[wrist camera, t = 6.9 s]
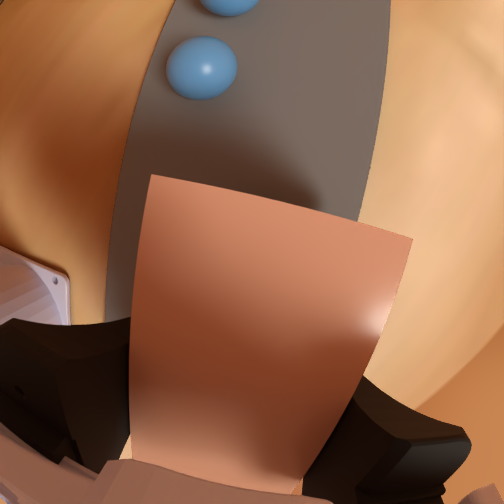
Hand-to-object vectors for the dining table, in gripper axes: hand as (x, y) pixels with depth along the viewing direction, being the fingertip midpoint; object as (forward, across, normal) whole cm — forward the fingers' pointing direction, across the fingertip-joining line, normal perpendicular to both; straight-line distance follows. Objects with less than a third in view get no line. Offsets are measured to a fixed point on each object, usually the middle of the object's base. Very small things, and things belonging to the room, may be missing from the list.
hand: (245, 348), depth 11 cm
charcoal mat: (+3, +2, -6) cm, 7 cm away
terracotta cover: (+2, 0, 0) cm, 2 cm away
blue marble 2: (+3, +4, -11) cm, 12 cm away
